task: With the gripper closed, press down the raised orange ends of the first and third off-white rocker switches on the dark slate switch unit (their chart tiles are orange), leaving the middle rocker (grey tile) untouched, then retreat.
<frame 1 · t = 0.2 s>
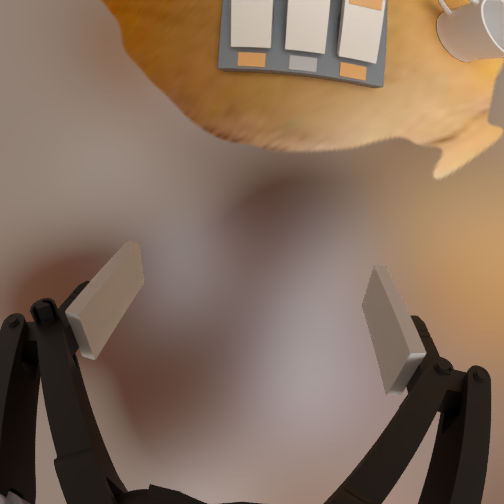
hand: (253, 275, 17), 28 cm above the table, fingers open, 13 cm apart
rocker 2: (307, 11, 25), point 7 cm above the table, hinge at 20.0°
rocker 1: (252, 6, 25), point 7 cm above the table, hinge at 20.0°
switch unit: (303, 25, 31), on the table
rocker 3: (361, 20, 24), point 7 cm above the table, hinge at 20.0°
mug: (451, 27, 27), on the table
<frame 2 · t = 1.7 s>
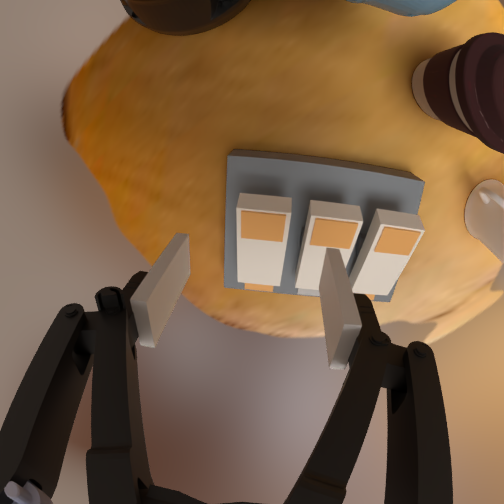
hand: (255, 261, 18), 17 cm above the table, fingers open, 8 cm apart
rocker 2: (325, 251, 28), point 7 cm above the table, hinge at 20.0°
rocker 1: (261, 245, 29), point 7 cm above the table, hinge at 20.0°
switch unit: (318, 222, 35), on the table
rocker 3: (383, 257, 28), point 7 cm above the table, hinge at 20.0°
coffee cup: (437, 89, 26), on the table
mug: (481, 201, 31), on the table
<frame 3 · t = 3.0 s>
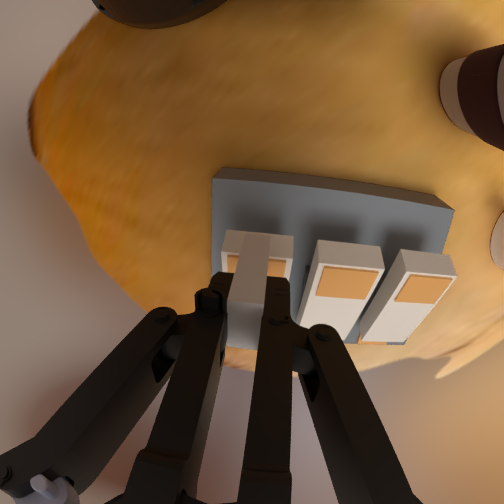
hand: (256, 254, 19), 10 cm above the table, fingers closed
rocker 2: (333, 299, 23), point 7 cm above the table, hinge at 20.0°
rocker 1: (255, 291, 23), point 7 cm above the table, hinge at 18.7°, touching gripper
switch unit: (324, 255, 29), on the table
rocker 3: (403, 304, 22), point 7 cm above the table, hinge at 20.0°
coffee cup: (467, 95, 20), on the table
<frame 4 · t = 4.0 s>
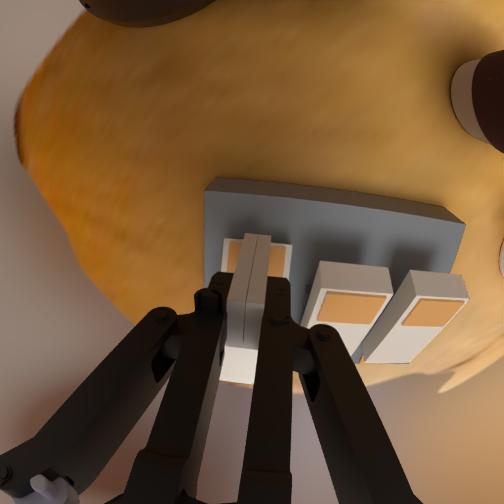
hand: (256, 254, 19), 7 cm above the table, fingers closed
rocker 2: (336, 322, 21), point 7 cm above the table, hinge at 20.0°
rocker 1: (251, 313, 21), point 7 cm above the table, hinge at -23.5°
switch unit: (325, 271, 27), on the table
rocker 3: (410, 325, 20), point 7 cm above the table, hinge at 20.0°
coffee cup: (479, 100, 18), on the table
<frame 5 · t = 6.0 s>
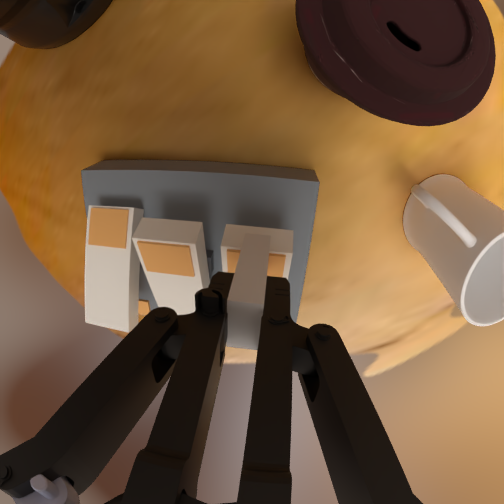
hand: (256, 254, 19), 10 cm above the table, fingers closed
rocker 2: (177, 277, 23), point 7 cm above the table, hinge at 20.0°
rocker 1: (111, 267, 24), point 7 cm above the table, hinge at -24.4°
switch unit: (199, 237, 29), on the table
rocker 3: (255, 285, 23), point 7 cm above the table, hinge at 19.7°, touching gripper
coffee cup: (348, 56, 20), on the table
mug: (430, 204, 26), on the table
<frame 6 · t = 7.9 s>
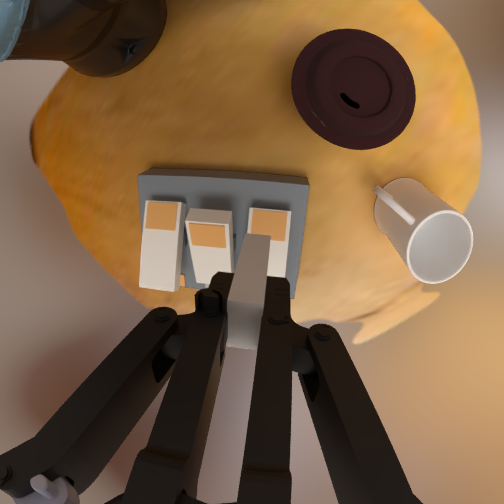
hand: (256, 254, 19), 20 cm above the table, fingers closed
rocker 2: (212, 250, 34), point 7 cm above the table, hinge at 20.0°
rocker 1: (161, 245, 34), point 7 cm above the table, hinge at -24.5°
switch unit: (224, 226, 40), on the table
rocker 3: (266, 255, 33), point 7 cm above the table, hinge at -20.8°
coffee cup: (331, 95, 31), on the table
mug: (395, 200, 36), on the table
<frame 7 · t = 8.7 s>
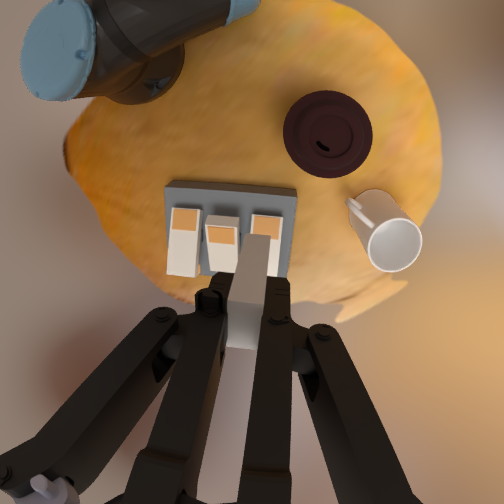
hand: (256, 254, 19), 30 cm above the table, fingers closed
rocker 2: (223, 246, 45), point 7 cm above the table, hinge at 20.0°
rocker 1: (184, 242, 45), point 7 cm above the table, hinge at -24.5°
switch unit: (231, 226, 51), on the table
rocker 3: (264, 250, 45), point 7 cm above the table, hinge at -20.2°
coffee cup: (316, 125, 42), on the table
mug: (366, 206, 47), on the table
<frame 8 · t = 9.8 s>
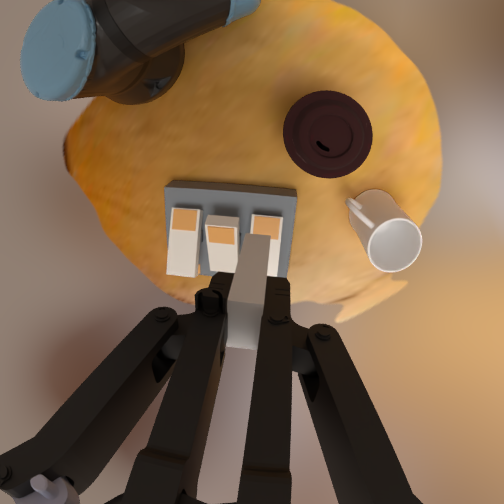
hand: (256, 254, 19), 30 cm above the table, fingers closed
rocker 2: (223, 246, 45), point 7 cm above the table, hinge at 20.0°
rocker 1: (184, 242, 45), point 7 cm above the table, hinge at -24.5°
switch unit: (231, 227, 51), on the table
rocker 3: (264, 250, 45), point 7 cm above the table, hinge at -20.0°
coffee cup: (316, 125, 42), on the table
mug: (366, 207, 47), on the table
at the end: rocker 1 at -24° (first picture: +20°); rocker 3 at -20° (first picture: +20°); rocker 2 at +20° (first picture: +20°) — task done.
